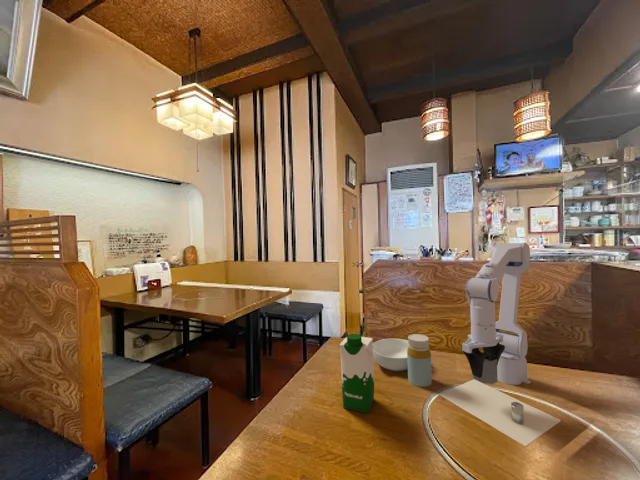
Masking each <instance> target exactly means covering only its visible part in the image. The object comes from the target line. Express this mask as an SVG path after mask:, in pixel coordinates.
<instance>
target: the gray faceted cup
mask: <svg viewBox="0 0 640 480" xmlns="http://www.w3.org/2000/svg"><path fill="white" fill-rule="evenodd" d="M481 352H482V353H484V354H487V356H486V357H485V360H484V363H483V372H482V377H481V378H479V377H477V376H474V375H473V374H472V373H471V376H472V378H473V379H475V380H477V381H479V382H481V383H483V384H486V385H487V384H489V385H494V384H497V383H498V382H499V381H498V375H497V358H496V357H495V355H493V354H490V353H487V352H484V351H481ZM473 379H472V380H473Z"/></svg>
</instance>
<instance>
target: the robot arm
mask: <svg viewBox="0 0 640 480" xmlns="http://www.w3.org/2000/svg"><path fill="white" fill-rule="evenodd" d="M530 250H531V249H530V245H529V244H528V243H527V242H493V243H492V244H491V245H490V247H489V257H490V261H489V262H486V263H485V264H484V263H483V265H482V266H481V268H480V269H479V271H478V272H477V274H476V275H475V277H471V278H469V279H468V280H467V281H466V284H465V295H466V297H467V303H468V305H469V306H470V307H469V308H470V309H469V310H470V311H469V312H470V334H467V338H468V339H467V340H466V341H465V342H463V343H462V344H461V345H462V346H461V347H462V352H463V354H464V355H465V357H466V360H467V361H468V364H469V366H470V367H469V368H470V371H471V375H472V374H473V375H474V376H477V377H479V378H481V377H482V372H483V363H484V360H485V357H486V356H487V354H484V353H482V352H487V353H490V354H493V355H495V357H496V358H497V375H498V382H500V383H503V384H506V385H510V386H518V385H519V386H520V385H521V384H522V382H523V383H525V384H527V385H529V384H531V383H532V381H530V380H528V361H527V359H526V356H527V353H528V350H529V348H528V346H529V345H528V343H529V342H528V333H527V331H526V330H524V328H522V327H521V326H520V325H519V324H518V312H519V299H520V289H521V278H522V274H523V273H524V272H526V271H529V267H530V262H531V261H530V260H531V258H530V257H531V251H530ZM501 281H502V284H501ZM500 284H501V294H500V301H499V302H500V303H499V312H498V313H499V314H498V320H496V301H497V299H498V297H499V290H500ZM481 348H482V350H483V351H481V350H480V349H481Z"/></svg>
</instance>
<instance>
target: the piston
mask: <svg viewBox="0 0 640 480" xmlns="http://www.w3.org/2000/svg"><path fill="white" fill-rule="evenodd" d="M511 410H512V421H513V422H514V423H516V424H520V425H522V424H524V407H523V405H522V404H520V403H518V402H512V403H511Z"/></svg>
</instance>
